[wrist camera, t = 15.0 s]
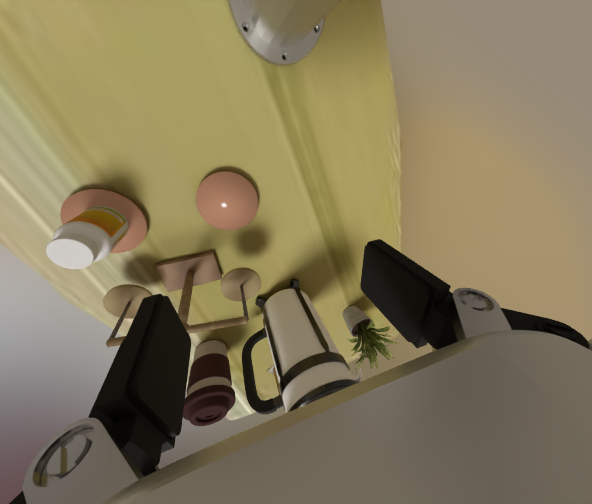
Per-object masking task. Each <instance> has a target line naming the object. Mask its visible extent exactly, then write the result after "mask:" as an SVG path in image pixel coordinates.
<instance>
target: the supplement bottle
mask: <svg viewBox="0 0 592 504" xmlns="http://www.w3.org/2000/svg"><path fill="white" fill-rule="evenodd" d="M128 227H129V226H128V222H127V220H126V218H125V217H124V216H123V215H122V214H121V213H120V212H118V211H117V210H115V209H112V208H109V207H105V206H96V207H92V208H89V209H87V210H86V211H84V212H83V213H81V214H80V215H78V216H76V217H75V218H73V219H72V220H70V221H68V222H67V223H65V224H63V225H62V226H60V227H59V228H58V229H57V230H56V231H55V233H54V235H53V240H52V241H51V242H50V243H49V244H48V245H47V247H46V253H47V256H48V257H49V259H50V260H51V261H53V262H54V263H55V264H57V265H59V266H61V267H65V268H69V269H81V268H85V267H87V266H89V265H90V264H91V263H92V262H95V261H99V260H101V259H103V258H105V257H106V256H107V255H108V254H109V253H110V252H111V251H112V250H113V249H114V248H115V247H116V245H117V244H118V243H119V242H120V241H121V240H122V238H123V237H124V236H125V235H126V233H127V231H128Z"/></svg>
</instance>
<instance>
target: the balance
mask: <svg viewBox="0 0 592 504" xmlns="http://www.w3.org/2000/svg"><path fill="white" fill-rule="evenodd" d="M155 269H156V271H157V273H158V274H159V276H160V278H161V280H162V282H163V284H164V286H165V287H166V289H167V291H168V292H172V291H176V290H180V289H183V291H182V296H181V301H180V306H179V310H178V316H179V318H180V320H181V321H182V323H183V325H184V327H185V329H186V331H187V332H188V334H189V333H195V332H201V331H207V330H213V329H219V328H225V327H230V326H236V325H242V324H247V323H248V320H249V318H248V312H247V306H246V300H248V299H250V298H252V297H253V296H255V295H256V294H257V293H258V291H259V290H260V287H261V280H260V277H259V275H258V274H257V273H256V272H255V271H254V270H252V269H249V268H236V269H233V270H231V271H229V272H228V273H227V274H226V275H225V276H224V277H223V279H222V275H221V272H220V269H219V266H218V263H217V260H216V257H215V254H214V251H211V252H207V253H202V254H197V255H193V256H188V257H184V258H179V259H175V260H170V261H165V262H161V263H156V265H155ZM220 279H222V281H221V291H222V294H223V295H224V296H225V297H226V298H228V299H230V300H233V301H242V303H243V310H244V316H245V317H239V318H233V319H227V320H221V321H215V322H208V323H202V324H196V325H190V326H189V325H188V324H187V320H188V313H189V307H190V300H191V294H192V287H193V286H196V285H200V284H204V283H208V282H212V281H216V280H220ZM149 296H153V295H152V293H151V292H150V291H148V290H147V289H145V288H143V287H141V286H137V285H130V284H128V285H120V286H117V287H114V288H112V289H111V290H109V291H108V292H107V294H106V295H105V297H104V299H103V304H104V307H105V309H106V310H107V311H108V312H109V313H111V314H113V315H115V316H117V317H120V319H119V320H118V322H117V324H116V326H115V328H114V330H113V332H112V334H111V336H110V338H109V339H108V340H107V343H106V345H107V346H108V347H111V346H117V345H121V343H122V341H123V340H124V338H126V336H123V337H118V338H115V335H116V334H117V332H118V329H119V327H120V325H121V323H122V321H123V319H124V318H135V316H136V313H137V311H138V309H139V306H140V304H141V302H142V300H143V298H145V297H149Z"/></svg>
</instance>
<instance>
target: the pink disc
mask: <svg viewBox="0 0 592 504" xmlns="http://www.w3.org/2000/svg"><path fill="white" fill-rule="evenodd" d="M196 203H197V207H198V210H199V212H200V214H201V216H202V217H203V218H204V219H205V220H206V221H207V222H208V223H209V224H210V225H212V226H214V227H216V228H219V229H223V230H236V229H240V228H242V227H244V226H246V225H247V224H249V223H250V222H251V221H252V219H253V218H254V216H255V215H256V212H257V209H258V197H257V193H256V191H255V189H254V187H253V186H252V184H251V183H250V182H249V181H248V180H247V179H246V178H245V177H243V176H242V175H239V174H237V173H234V172H230V171H220V172H216V173H213V174H211V175H209V176H208V177H207V178H205V179H204V180H203V181H202V183H201V184H200V186H199V188H198V191H197V196H196Z"/></svg>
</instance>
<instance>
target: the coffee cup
mask: <svg viewBox="0 0 592 504" xmlns="http://www.w3.org/2000/svg"><path fill="white" fill-rule="evenodd" d="M231 385H232V381H231V373H230V366H229V360H228V358H227V350H226V346H225V344H224V343H223V342H221V341H217V340H211V341H206V342H204V343H202V344H200V345H199V346H198V347H197V349H196V350H195V355H194V360H193V364H192V366H191V371H190V376H189V382H188V387H187V397H186V398H185V401H184V410H183V417H184V418H185V419H186V420H189V421H190V422H191V423H192V424H193V425H196V426H206V425H210V424H213V423H215V422H218V421H220V420H221V419H222V418H223V417H225V416H226V414H227V412H228V411H229V410H230V409H231V408H232V407H233V405H234V403H235V392H234V390H233V389H232V388H231Z"/></svg>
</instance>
